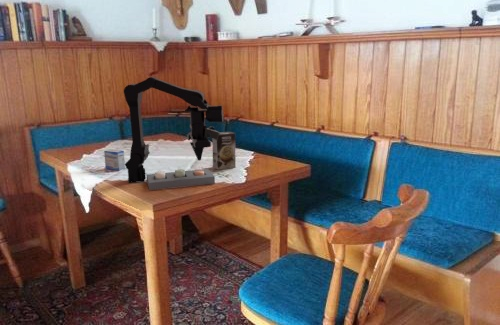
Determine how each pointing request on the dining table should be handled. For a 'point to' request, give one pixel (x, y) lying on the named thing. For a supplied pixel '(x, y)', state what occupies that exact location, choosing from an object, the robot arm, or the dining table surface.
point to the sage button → (179, 173)
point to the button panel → (180, 180)
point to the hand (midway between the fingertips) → (199, 160)
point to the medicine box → (114, 159)
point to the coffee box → (224, 151)
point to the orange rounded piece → (199, 173)
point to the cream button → (159, 175)
